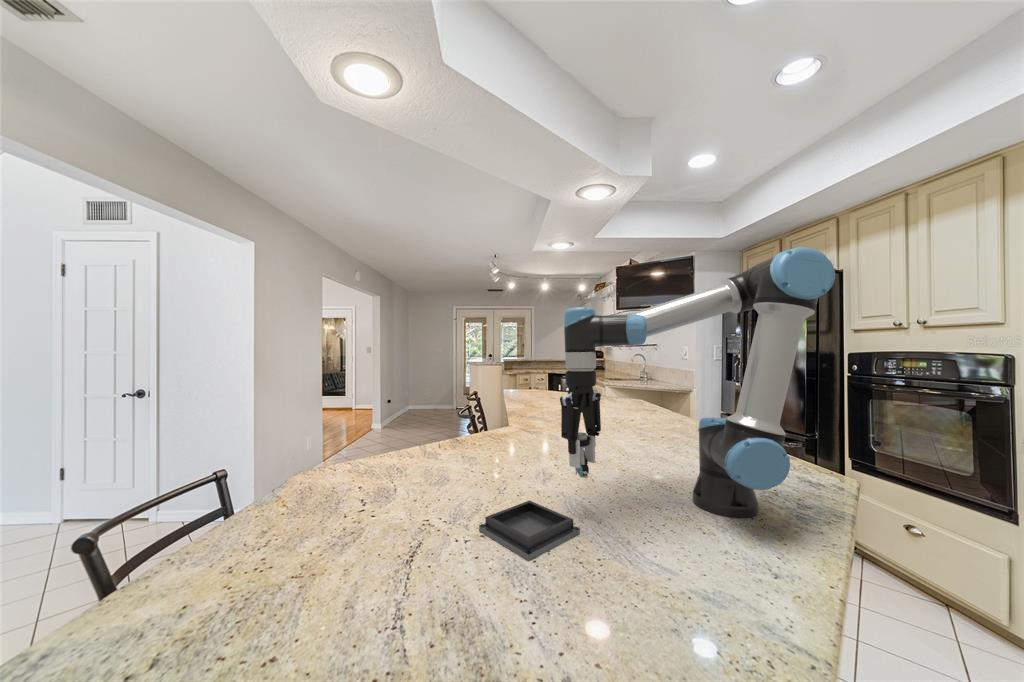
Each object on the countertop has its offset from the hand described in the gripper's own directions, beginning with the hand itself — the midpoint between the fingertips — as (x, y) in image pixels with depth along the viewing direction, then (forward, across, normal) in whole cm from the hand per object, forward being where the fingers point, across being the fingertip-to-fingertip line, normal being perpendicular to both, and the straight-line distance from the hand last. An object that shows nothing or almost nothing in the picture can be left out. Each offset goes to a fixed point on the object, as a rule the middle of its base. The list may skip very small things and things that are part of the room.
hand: (582, 463), depth 91 cm
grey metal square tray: (+13, +15, -4) cm, 20 cm away
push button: (+3, 0, 0) cm, 3 cm away
